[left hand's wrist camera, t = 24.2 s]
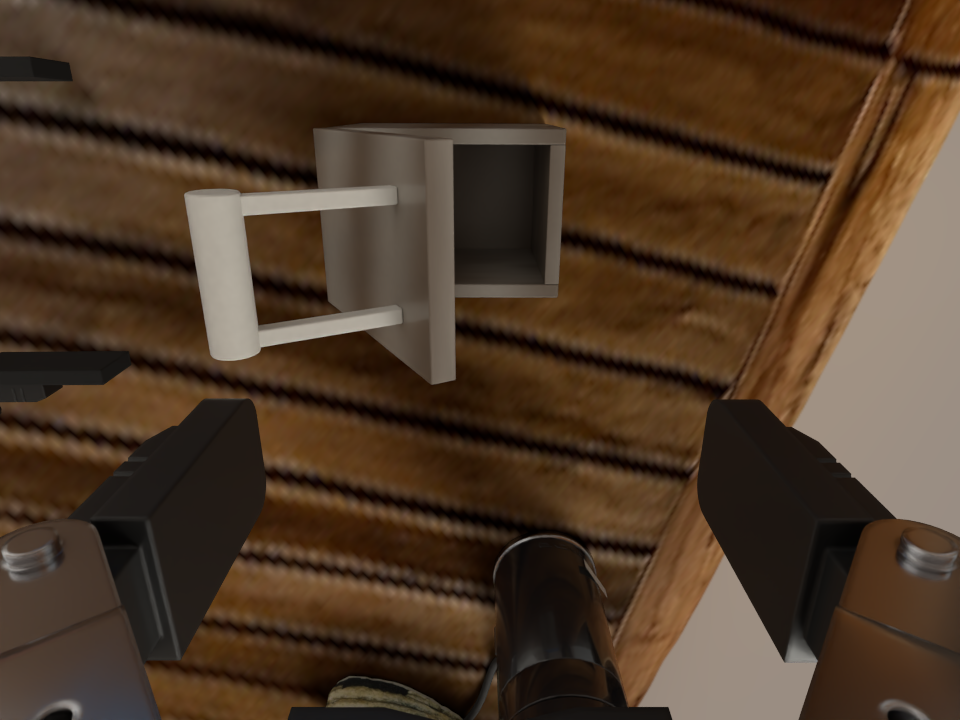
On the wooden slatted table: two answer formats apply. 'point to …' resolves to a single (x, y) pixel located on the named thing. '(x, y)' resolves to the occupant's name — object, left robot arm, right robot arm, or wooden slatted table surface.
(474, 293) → the chest
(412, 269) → the lid
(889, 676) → the left robot arm
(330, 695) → the fossil
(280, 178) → the wooden slatted table surface
